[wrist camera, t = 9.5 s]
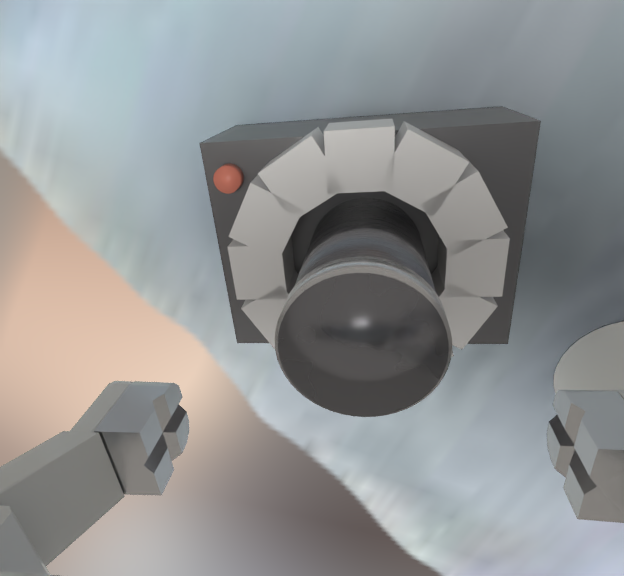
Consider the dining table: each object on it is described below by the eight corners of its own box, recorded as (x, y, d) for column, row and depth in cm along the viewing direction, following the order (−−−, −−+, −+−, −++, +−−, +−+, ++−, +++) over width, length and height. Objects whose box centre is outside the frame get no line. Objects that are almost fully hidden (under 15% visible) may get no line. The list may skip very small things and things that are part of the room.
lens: (426, 191, 16) (458, 267, 10) (422, 300, 18) (448, 421, 12) (303, 198, 17) (262, 272, 11) (313, 303, 19) (284, 417, 13)
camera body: (503, 96, 19) (566, 114, 13) (481, 296, 23) (520, 381, 17) (234, 116, 21) (176, 140, 15) (261, 298, 25) (226, 377, 19)
